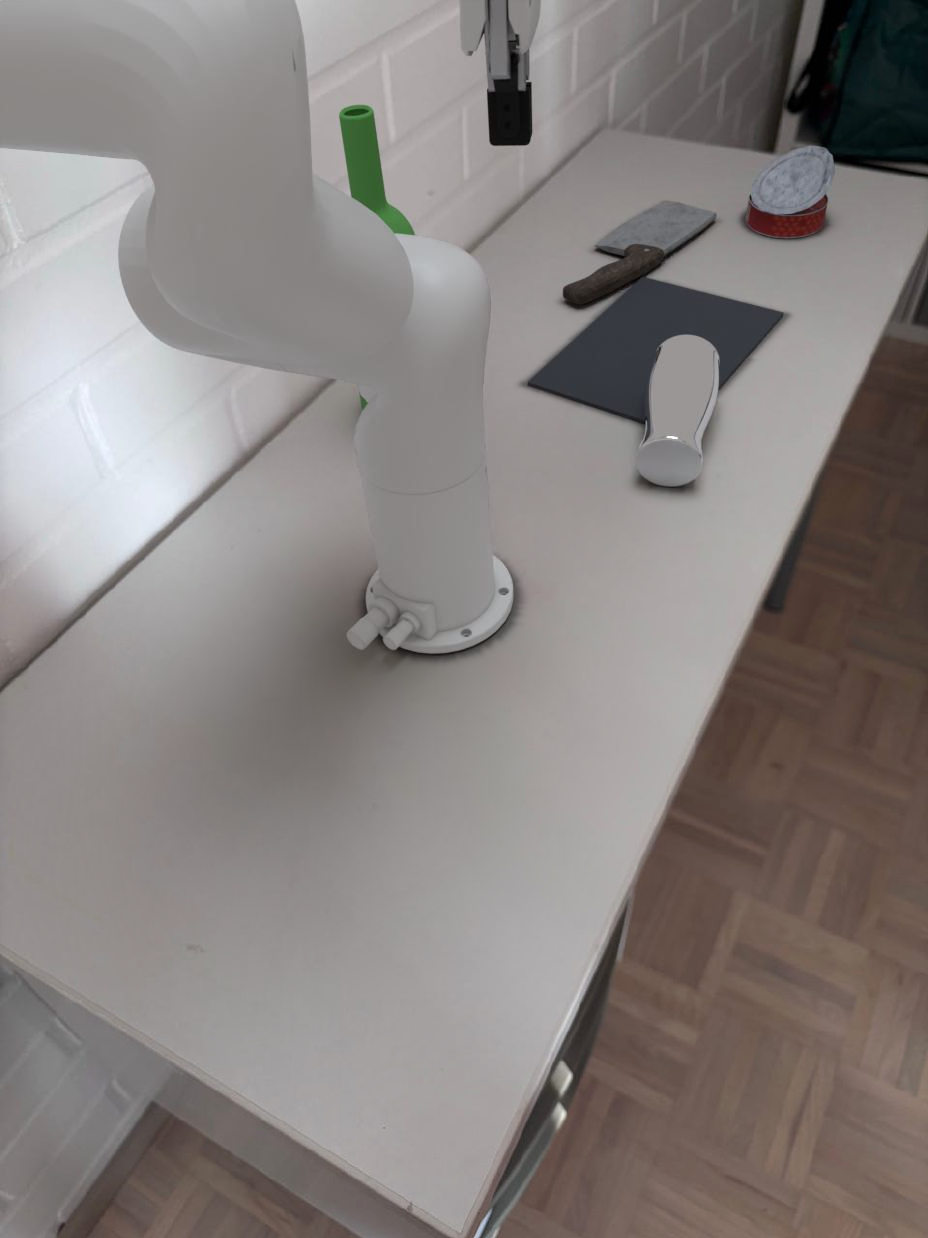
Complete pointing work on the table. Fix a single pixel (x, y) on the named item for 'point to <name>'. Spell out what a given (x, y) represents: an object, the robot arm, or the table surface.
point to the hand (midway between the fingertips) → (511, 140)
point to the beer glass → (678, 410)
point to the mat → (649, 343)
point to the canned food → (791, 194)
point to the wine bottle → (367, 180)
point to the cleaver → (640, 247)
